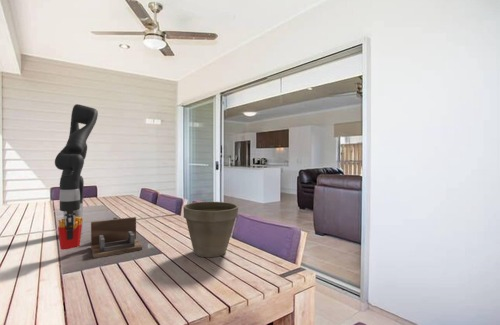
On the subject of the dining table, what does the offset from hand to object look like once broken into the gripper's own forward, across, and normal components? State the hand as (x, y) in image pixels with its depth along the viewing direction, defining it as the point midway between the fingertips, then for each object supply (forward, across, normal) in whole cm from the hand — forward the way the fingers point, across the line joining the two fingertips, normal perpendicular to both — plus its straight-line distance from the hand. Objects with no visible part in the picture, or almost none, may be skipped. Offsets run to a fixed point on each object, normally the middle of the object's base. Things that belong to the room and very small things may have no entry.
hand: (70, 237), depth 120 cm
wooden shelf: (+8, 0, -18) cm, 20 cm away
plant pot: (+8, -29, -55) cm, 62 cm away
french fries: (+5, 0, 0) cm, 5 cm away
